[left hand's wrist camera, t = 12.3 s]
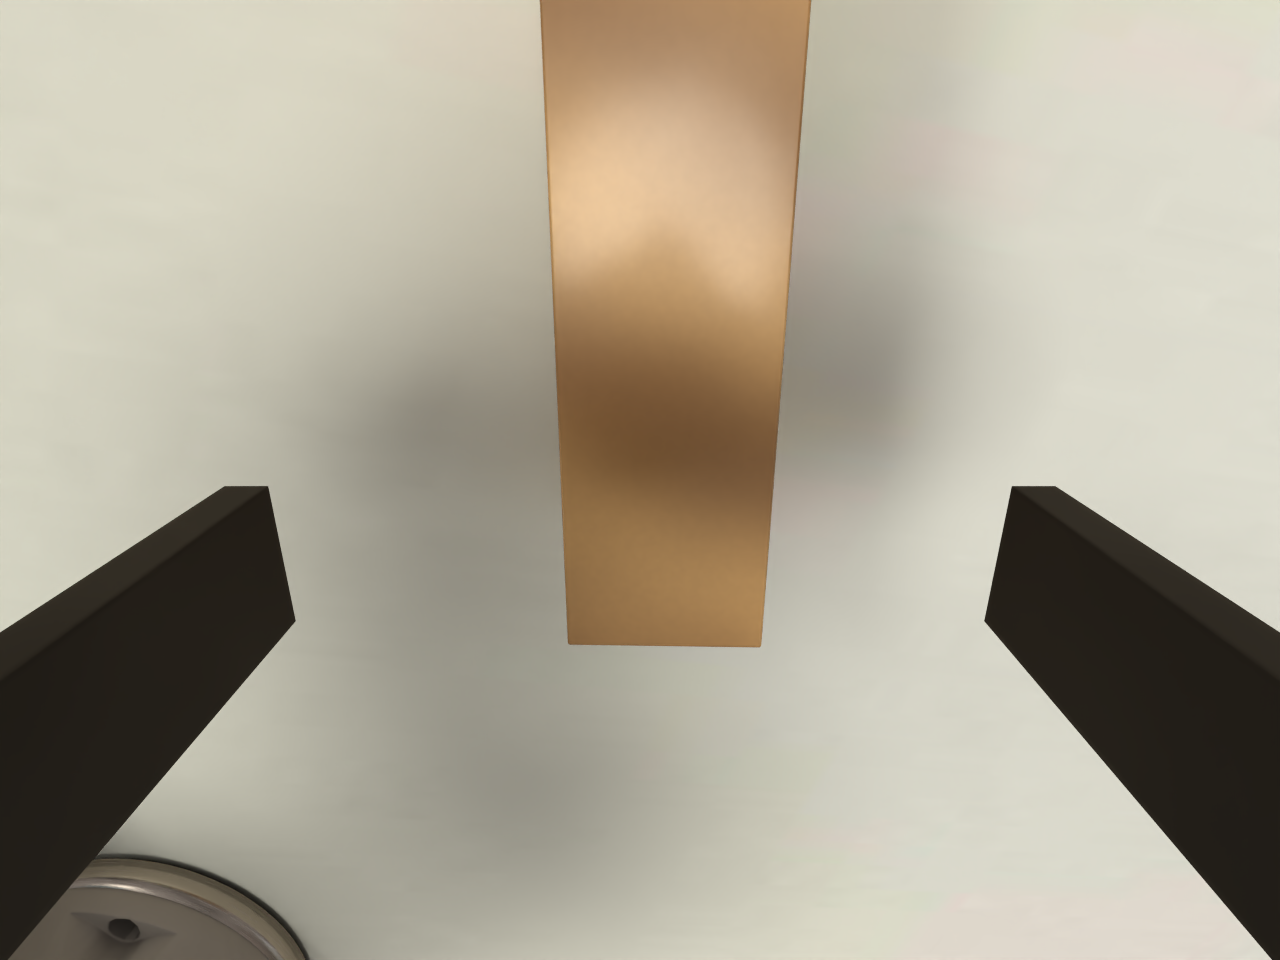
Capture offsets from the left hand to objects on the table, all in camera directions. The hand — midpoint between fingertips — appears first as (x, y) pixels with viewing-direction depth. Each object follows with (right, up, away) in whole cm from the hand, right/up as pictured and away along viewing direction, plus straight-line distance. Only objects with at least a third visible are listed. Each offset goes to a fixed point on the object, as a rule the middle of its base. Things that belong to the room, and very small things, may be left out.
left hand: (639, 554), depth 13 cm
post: (+1, +33, 0) cm, 33 cm away
